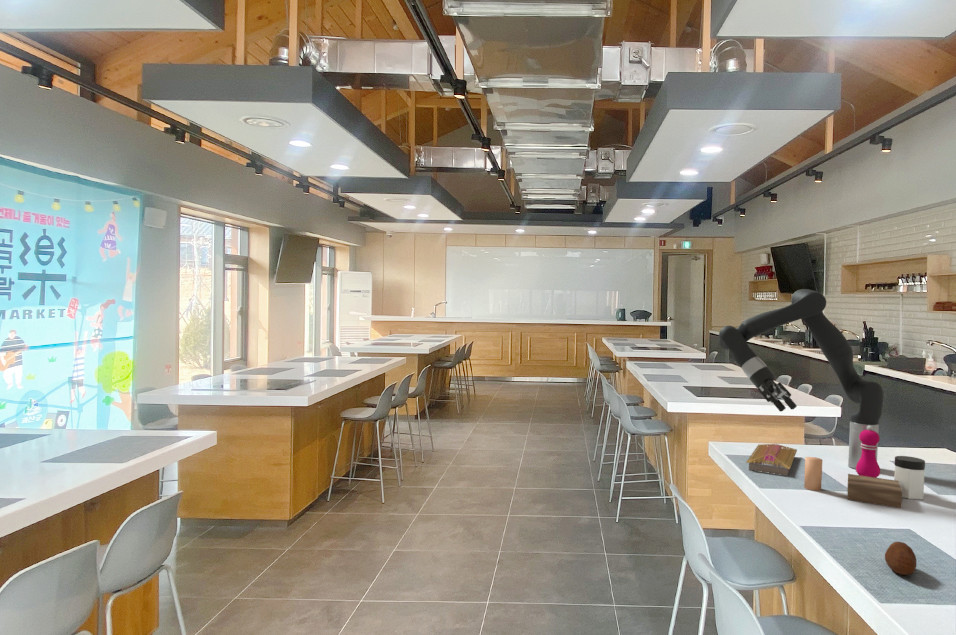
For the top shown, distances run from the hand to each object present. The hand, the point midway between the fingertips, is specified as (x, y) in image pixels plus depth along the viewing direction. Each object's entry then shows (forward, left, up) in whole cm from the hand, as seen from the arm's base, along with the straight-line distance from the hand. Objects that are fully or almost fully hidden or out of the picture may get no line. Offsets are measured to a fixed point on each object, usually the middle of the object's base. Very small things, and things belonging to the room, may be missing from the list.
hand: (789, 409), depth 215 cm
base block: (+5, +25, -25) cm, 36 cm away
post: (+5, +8, -25) cm, 27 cm away
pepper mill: (-14, +24, -25) cm, 38 cm away
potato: (+67, +28, -25) cm, 77 cm away
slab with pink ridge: (-23, -6, -26) cm, 35 cm away
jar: (-5, +35, -25) cm, 44 cm away
